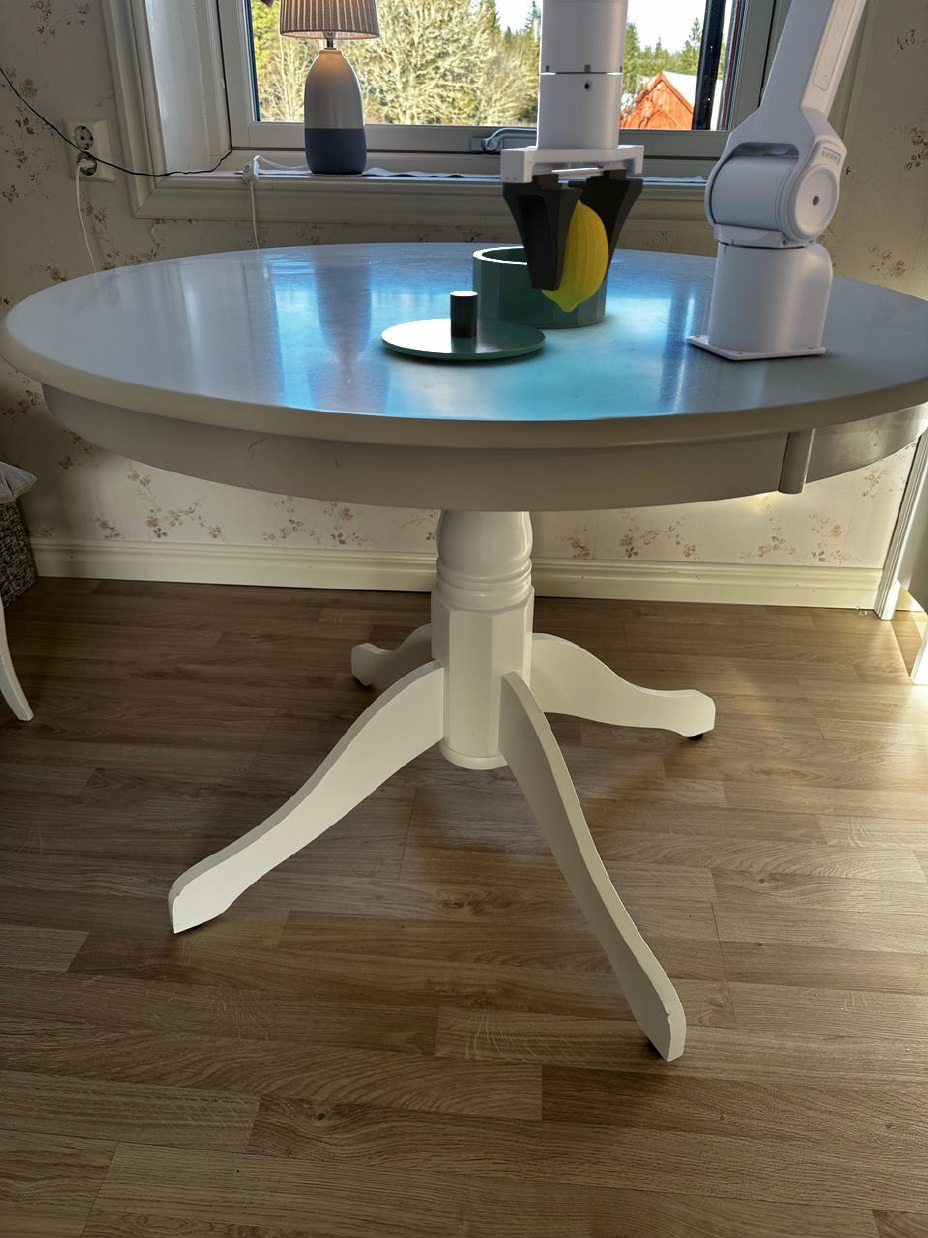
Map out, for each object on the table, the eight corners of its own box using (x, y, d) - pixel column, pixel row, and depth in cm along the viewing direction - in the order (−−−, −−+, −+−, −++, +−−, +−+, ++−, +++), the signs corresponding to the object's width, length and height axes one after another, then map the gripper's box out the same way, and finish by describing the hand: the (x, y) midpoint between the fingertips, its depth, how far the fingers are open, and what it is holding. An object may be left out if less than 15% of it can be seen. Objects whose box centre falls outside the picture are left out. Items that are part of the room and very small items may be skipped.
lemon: (545, 320, 68) (551, 201, 64) (521, 307, 72) (525, 195, 68) (615, 317, 69) (625, 199, 65) (587, 304, 74) (594, 194, 70)
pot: (562, 297, 106) (565, 241, 103) (639, 329, 90) (645, 265, 87) (448, 302, 102) (448, 245, 99) (508, 337, 86) (510, 271, 83)
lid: (511, 326, 91) (512, 277, 88) (571, 359, 79) (574, 303, 76) (365, 335, 87) (363, 283, 84) (405, 371, 75) (404, 312, 72)
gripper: (593, 78, 70) (582, 268, 77) (466, 73, 61) (465, 289, 67) (675, 76, 66) (655, 277, 72) (552, 70, 56) (542, 301, 63)
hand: (569, 284), depth 70 cm, fingers closed on lemon, 5 cm apart
